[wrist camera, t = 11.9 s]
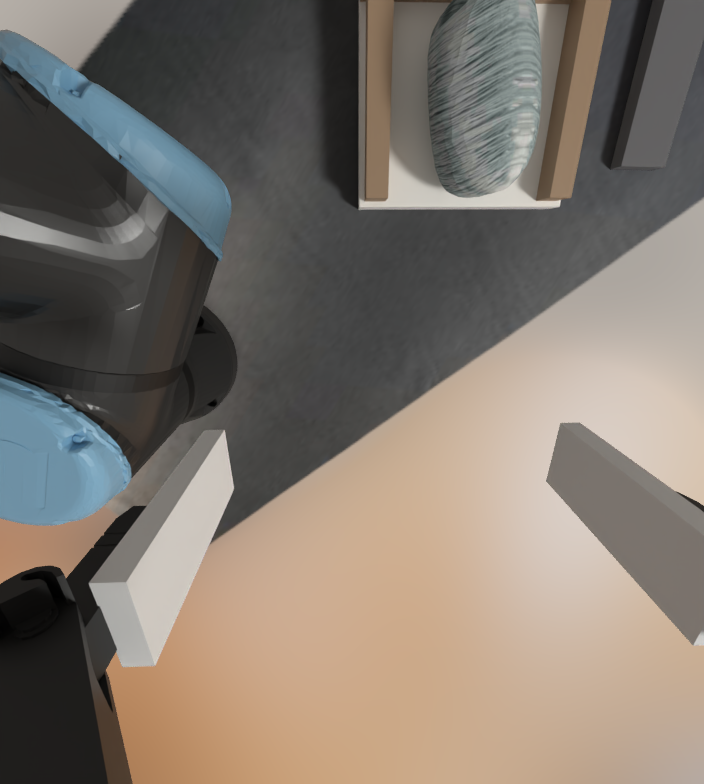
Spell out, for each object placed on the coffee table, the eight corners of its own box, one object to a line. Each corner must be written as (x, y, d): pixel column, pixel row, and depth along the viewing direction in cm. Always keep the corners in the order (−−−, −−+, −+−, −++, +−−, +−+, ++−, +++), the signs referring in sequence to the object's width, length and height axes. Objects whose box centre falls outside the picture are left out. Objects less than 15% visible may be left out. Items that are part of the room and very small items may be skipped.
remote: (606, 170, 36) (621, 166, 34) (653, -15, 31) (672, -32, 29) (648, 171, 36) (664, 167, 34) (701, -13, 31) (724, -30, 29)
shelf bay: (358, 209, 36) (360, 204, 32) (358, 1, 30) (361, -39, 26) (548, 209, 37) (575, 203, 32) (586, 4, 31) (624, -35, 26)
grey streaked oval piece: (397, -10, 26) (508, -71, 19) (489, 2, 30) (610, -45, 22) (393, 198, 34) (470, 210, 27) (465, 187, 38) (549, 196, 31)
